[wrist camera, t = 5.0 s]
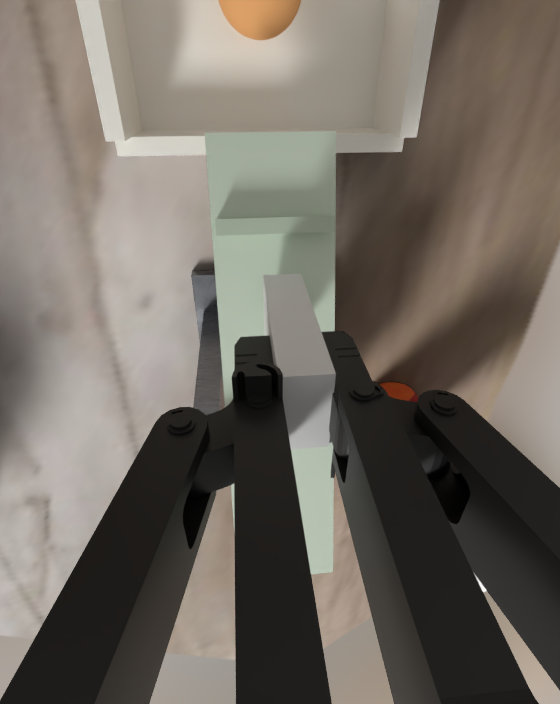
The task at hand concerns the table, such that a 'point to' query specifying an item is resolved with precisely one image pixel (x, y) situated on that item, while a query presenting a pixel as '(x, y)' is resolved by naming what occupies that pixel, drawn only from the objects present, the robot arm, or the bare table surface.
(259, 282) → the lever
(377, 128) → the white square tray
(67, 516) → the table surface
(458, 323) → the table surface
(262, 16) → the ball
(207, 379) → the stand
